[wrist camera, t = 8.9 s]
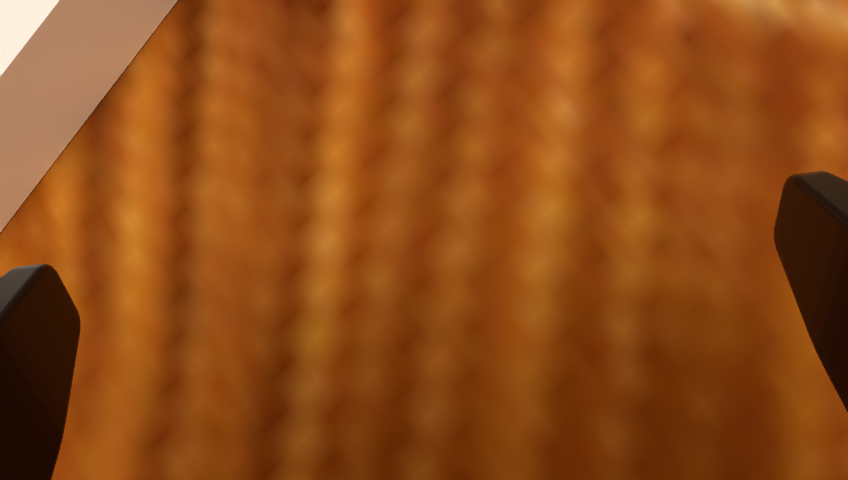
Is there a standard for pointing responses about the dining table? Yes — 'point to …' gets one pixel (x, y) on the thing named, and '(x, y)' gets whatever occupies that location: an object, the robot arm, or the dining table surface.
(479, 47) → the dining table surface
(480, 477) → the dining table surface
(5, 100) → the white flat square block
